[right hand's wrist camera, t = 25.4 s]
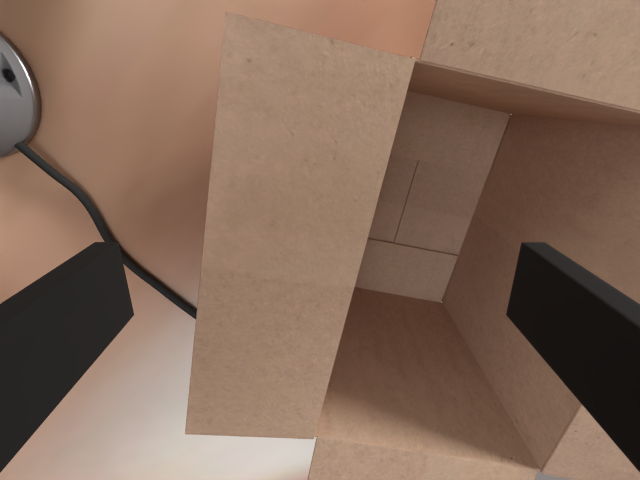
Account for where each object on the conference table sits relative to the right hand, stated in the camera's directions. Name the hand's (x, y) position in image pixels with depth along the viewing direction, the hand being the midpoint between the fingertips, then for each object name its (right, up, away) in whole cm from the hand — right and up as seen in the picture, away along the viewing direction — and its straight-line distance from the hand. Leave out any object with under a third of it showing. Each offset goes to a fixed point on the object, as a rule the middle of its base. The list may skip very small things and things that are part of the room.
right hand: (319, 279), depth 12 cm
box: (+11, +6, +35) cm, 37 cm away
